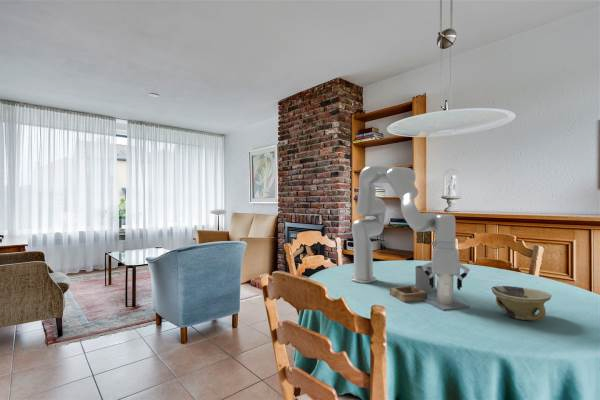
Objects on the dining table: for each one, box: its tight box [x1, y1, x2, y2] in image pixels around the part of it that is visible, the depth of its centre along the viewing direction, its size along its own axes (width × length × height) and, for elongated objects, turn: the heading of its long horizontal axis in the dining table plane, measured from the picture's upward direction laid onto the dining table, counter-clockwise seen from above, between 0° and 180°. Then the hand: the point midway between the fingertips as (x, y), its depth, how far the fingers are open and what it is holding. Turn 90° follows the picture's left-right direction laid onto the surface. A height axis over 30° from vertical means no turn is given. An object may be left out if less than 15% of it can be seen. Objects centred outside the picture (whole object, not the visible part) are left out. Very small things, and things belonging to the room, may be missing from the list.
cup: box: [415, 265, 436, 293], centre depth 148 cm, size 8×8×10 cm
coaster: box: [422, 297, 470, 312], centre depth 127 cm, size 12×12×1 cm
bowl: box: [490, 285, 553, 322], centre depth 113 cm, size 18×18×10 cm
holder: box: [389, 285, 428, 303], centre depth 137 cm, size 11×11×3 cm
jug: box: [436, 274, 454, 305], centre depth 126 cm, size 8×6×12 cm
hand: (445, 288), depth 127 cm, fingers open, 9 cm apart
